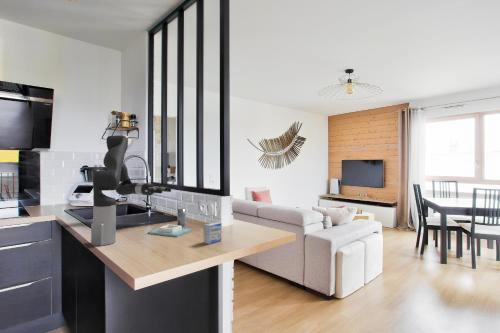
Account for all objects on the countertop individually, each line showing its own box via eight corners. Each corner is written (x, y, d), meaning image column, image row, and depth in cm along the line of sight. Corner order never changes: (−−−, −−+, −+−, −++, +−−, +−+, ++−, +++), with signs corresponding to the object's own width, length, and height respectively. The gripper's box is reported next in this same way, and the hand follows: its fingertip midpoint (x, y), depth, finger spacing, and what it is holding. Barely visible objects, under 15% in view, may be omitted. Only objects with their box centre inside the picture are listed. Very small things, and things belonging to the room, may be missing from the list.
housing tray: (177, 237, 140) (177, 231, 140) (147, 233, 146) (147, 228, 146) (191, 230, 153) (192, 225, 153) (164, 228, 159) (164, 222, 159)
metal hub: (182, 227, 162) (182, 210, 162) (175, 226, 163) (175, 209, 163) (186, 225, 166) (186, 208, 166) (180, 225, 168) (180, 208, 167)
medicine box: (209, 244, 128) (210, 225, 128) (203, 242, 131) (203, 224, 131) (221, 241, 134) (221, 223, 134) (214, 239, 137) (215, 221, 137)
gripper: (136, 183, 167) (158, 185, 161) (152, 182, 180) (173, 183, 174) (136, 196, 167) (158, 198, 161) (152, 193, 180) (173, 195, 175)
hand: (166, 190), depth 168 cm, fingers open, 8 cm apart
